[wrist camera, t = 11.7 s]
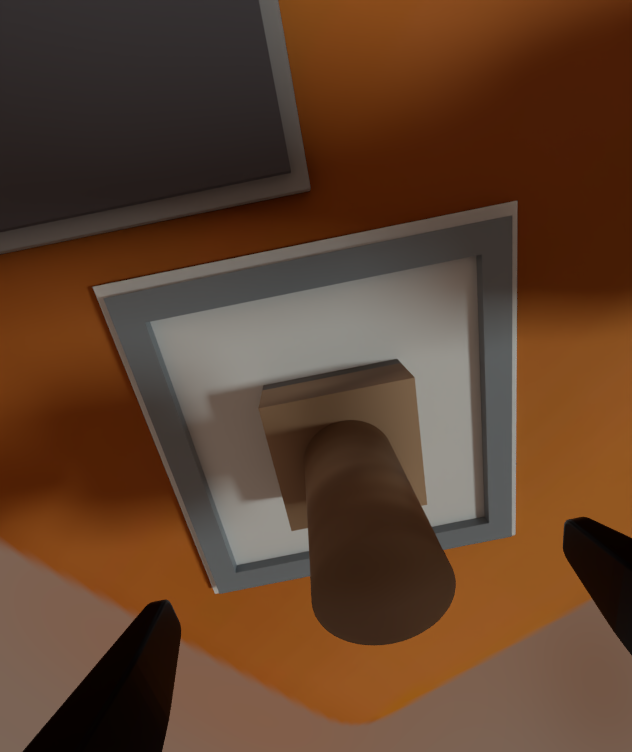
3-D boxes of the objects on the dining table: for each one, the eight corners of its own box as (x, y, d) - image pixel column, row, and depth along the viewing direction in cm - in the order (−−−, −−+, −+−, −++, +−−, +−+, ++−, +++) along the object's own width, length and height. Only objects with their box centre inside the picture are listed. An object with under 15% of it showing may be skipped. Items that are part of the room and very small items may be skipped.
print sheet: (512, 201, 12) (524, 198, 11) (511, 529, 17) (520, 541, 16) (96, 285, 12) (85, 288, 11) (216, 587, 17) (213, 601, 16)
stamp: (397, 358, 13) (502, 471, 7) (410, 471, 15) (503, 651, 8) (263, 385, 13) (234, 524, 7) (291, 495, 15) (290, 693, 8)
